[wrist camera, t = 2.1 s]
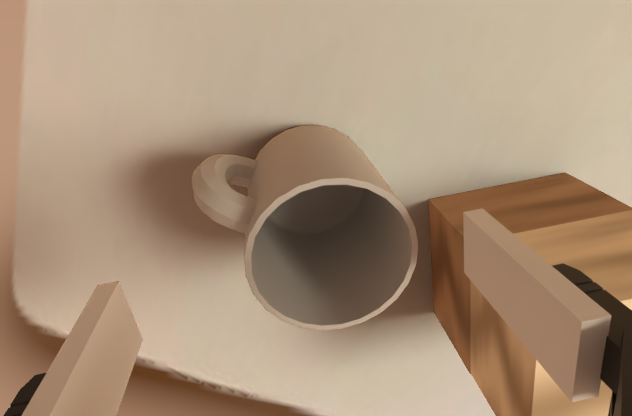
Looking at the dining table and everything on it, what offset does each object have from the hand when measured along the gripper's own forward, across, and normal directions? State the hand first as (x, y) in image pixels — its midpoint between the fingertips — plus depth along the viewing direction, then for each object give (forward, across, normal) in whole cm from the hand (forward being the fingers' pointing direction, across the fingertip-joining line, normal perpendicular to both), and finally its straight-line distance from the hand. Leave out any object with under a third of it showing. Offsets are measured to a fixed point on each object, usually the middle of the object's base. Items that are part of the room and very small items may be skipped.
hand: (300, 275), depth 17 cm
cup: (+10, 0, 0) cm, 10 cm away
